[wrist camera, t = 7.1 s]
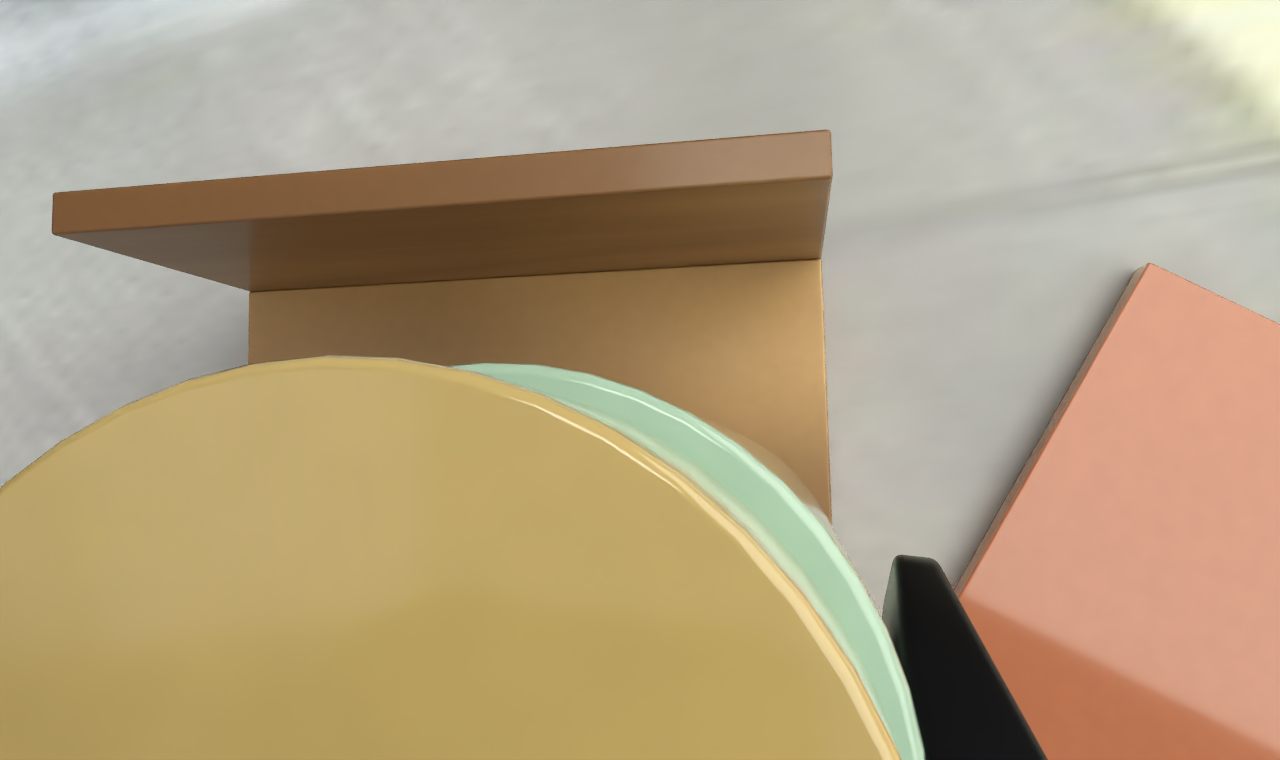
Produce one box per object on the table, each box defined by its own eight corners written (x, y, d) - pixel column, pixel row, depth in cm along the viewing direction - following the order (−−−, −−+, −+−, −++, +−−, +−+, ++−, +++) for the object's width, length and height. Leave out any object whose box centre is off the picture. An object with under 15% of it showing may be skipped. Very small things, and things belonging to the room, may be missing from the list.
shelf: (833, 671, 22) (859, 821, 13) (310, 661, 24) (32, 782, 15) (817, 252, 23) (830, 127, 14) (312, 282, 25) (52, 191, 16)
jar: (586, 809, 16) (-59, 1899, 4) (465, 496, 17) (-365, 595, 5) (903, 687, 15) (1317, 1560, 3) (759, 366, 16) (655, 94, 4)
